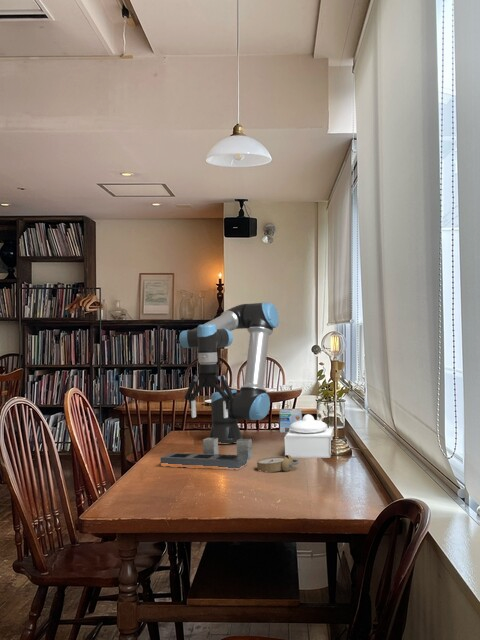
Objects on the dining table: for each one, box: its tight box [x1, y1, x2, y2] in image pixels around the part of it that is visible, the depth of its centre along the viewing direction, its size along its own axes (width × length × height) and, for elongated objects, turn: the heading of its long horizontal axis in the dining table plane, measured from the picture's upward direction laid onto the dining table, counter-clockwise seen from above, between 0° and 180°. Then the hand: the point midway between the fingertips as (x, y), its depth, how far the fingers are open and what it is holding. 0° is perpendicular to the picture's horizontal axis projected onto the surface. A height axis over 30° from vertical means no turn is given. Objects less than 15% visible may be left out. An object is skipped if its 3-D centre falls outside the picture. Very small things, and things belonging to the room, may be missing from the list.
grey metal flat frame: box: [160, 452, 248, 468], centre depth 233 cm, size 10×31×4 cm, turn 70°
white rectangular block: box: [236, 438, 253, 460], centre depth 240 cm, size 4×4×8 cm
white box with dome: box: [284, 413, 334, 459], centre depth 250 cm, size 18×18×16 cm
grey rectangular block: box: [202, 437, 219, 454], centre depth 245 cm, size 4×4×8 cm
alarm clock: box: [254, 455, 299, 473], centre depth 223 cm, size 11×5×15 cm
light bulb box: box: [279, 408, 303, 434], centre depth 304 cm, size 11×7×11 cm, turn 80°
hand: (209, 417), depth 245 cm, fingers open, 13 cm apart
